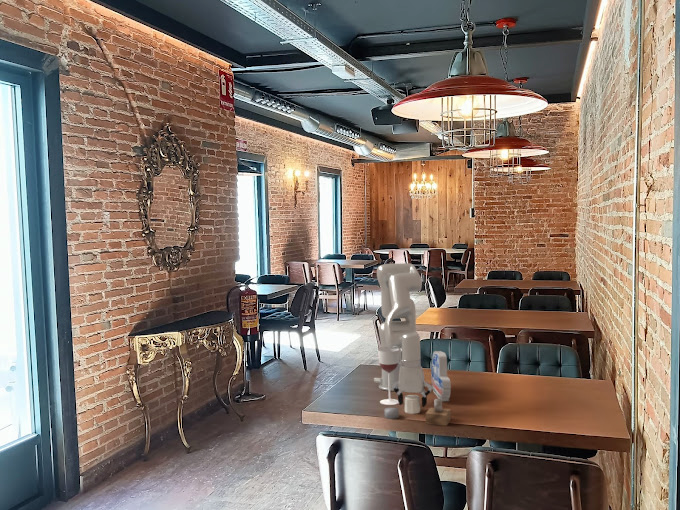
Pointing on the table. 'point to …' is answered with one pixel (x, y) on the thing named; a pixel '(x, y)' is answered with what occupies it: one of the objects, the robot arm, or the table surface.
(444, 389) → the decorative sign
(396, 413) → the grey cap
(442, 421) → the post base
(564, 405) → the table surface
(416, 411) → the cream cap
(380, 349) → the wineglass
